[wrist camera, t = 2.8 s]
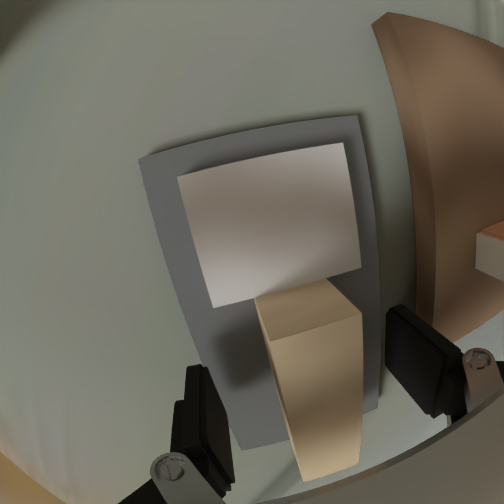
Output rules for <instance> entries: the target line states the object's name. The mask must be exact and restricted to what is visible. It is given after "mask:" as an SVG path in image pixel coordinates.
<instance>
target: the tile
mask: <svg viewBox="0 0 504 504" xmlns="http://www.w3.org/2000/svg"><path fill="white" fill-rule="evenodd" d="M475 269H478V270H480V271H482V272H484V273H486V274H488V275H490V276H492V277H495V278H497V279H499V280H501V281H503V282H504V221H502V222H499V223H497V224H494V225H492V226H489V227H487V228H484V229H482V232H479V233H477V240H476V264H475Z"/></svg>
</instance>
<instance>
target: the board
mask: <svg viewBox="0 0 504 504" xmlns="http://www.w3.org/2000/svg"><path fill="white" fill-rule="evenodd" d="M371 25H372V28H373V30H374V33H375V36H376V38H377V41H378V44H379V47H380V50H381V53H382V56H383V59H384V62H385V65H386V68H387V72H388V75H389V78H390V82H391V86H392V89H393V93H394V97H395V101H396V105H397V109H398V113H399V118H400V122H401V127H402V132H403V137H404V142H405V148H406V154H407V160H408V166H409V173H410V181H411V189H412V198H413V208H414V220H415V236H416V312H415V314H416V315H418V316H419V317H420V318H421V319H423V320H424V321H425V322H427V323H428V324H429V325H430V326H432V327H433V328H434V329H436V330H437V331H438V332H439V333H441V334H442V335H443V336H444V337H446V338H447V339H448V340H449V341H451V342H452V343H453V342H455V341H456V340H458V339H460V338H461V337H463V336H465V335H466V334H468V333H469V332H471V331H473V330H474V329H476V328H477V327H479V326H480V325H482V324H483V323H485V322H486V321H488V320H489V319H491V318H492V317H494V316H495V315H496V314H498V313H499V312H501V311H502V310H503V309H504V282H503V281H501V280H499V279H497V278H495V277H492V276H490V275H488V274H486V273H484V272H482V271H480V270H478V269H475V264H476V240H477V233H479V232H482V229H484V228H487V227H489V226H492V225H494V224H497V223H499V222H502V221H504V48H502V47H500V46H498V45H496V44H493V43H491V42H489V41H486V40H484V39H482V38H479V37H477V36H474V35H471V34H469V33H466V32H463V31H460V30H457V29H454V28H451V27H448V26H445V25H441V24H438V23H435V22H431V21H427V20H423V19H419V18H415V17H411V16H406V15H401V14H396V13H391V12H387V13H386V14H384V15H383V16H382V17H381V18H379V19H378V20H377V21H375V22H374V23H373V24H371Z"/></svg>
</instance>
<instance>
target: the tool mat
mask: <svg viewBox="0 0 504 504" xmlns="http://www.w3.org/2000/svg"><path fill="white" fill-rule="evenodd" d="M336 143H343V145H344V150H345V155H346V160H347V165H348V171H349V176H350V182H351V188H352V194H353V201H354V208H355V215H356V222H357V230H358V238H359V247H360V257H361V268H358V269H355V270H352V271H348V272H345V273H342V274H338V275H335V276H331V277H328V278H326V279H327V280H328V281H329V282H330V283H331V284H332V285H334V286H335V287H336V288H337V289H338V290H339V291H340V292H341V293H342V294H343V295H344V296H345V297H346V298H347V299H348V300H349V301H350V302H351V303H352V304H353V305H354V306H355V307H356V308H357V309H358V310H359V311H360V312H361V313H362V328H363V405H362V414H364V413H367V412H369V411H372V410H374V409H376V408H377V406H378V395H379V382H380V363H381V285H380V267H379V252H378V241H377V230H376V221H375V212H374V205H373V197H372V190H371V183H370V177H369V171H368V165H367V160H366V154H365V149H364V144H363V139H362V134H361V129H360V125H359V120H358V116H357V115H353V116H342V117H333V118H324V119H315V120H308V121H300V122H294V123H287V124H281V125H275V126H269V127H263V128H258V129H253V130H248V131H243V132H238V133H233V134H229V135H224V136H220V137H215V138H211V139H207V140H203V141H199V142H195V143H191V144H187V145H184V146H180V147H176V148H173V149H169V150H166V151H162V152H159V153H156V154H152V155H149V156H146V157H143V158H140V159H138V160H139V165H140V169H141V173H142V177H143V181H144V185H145V189H146V193H147V197H148V201H149V205H150V209H151V212H152V216H153V220H154V223H155V227H156V230H157V234H158V237H159V240H160V244H161V247H162V250H163V254H164V257H165V260H166V263H167V266H168V270H169V273H170V276H171V279H172V282H173V285H174V288H175V291H176V294H177V297H178V300H179V302H180V305H181V308H182V311H183V314H184V317H185V319H186V322H187V325H188V328H189V330H190V333H191V336H192V338H193V341H194V343H195V346H196V349H197V351H198V354H199V356H200V359H201V361H202V364H203V366H204V367H206V366H207V367H208V370H209V372H210V374H211V377H212V379H213V382H214V384H215V387H216V389H217V391H218V394H219V396H220V398H221V401H222V403H223V405H224V407H225V410H226V413H227V417H228V423H229V426H230V428H231V430H232V432H233V434H234V436H235V438H236V440H237V442H238V444H239V446H240V448H241V450H247V449H252V448H256V447H261V446H265V445H269V444H273V443H277V442H281V441H285V440H289V439H290V438H289V435H288V431H287V428H286V424H285V420H284V416H283V412H282V409H281V405H280V401H279V397H278V393H277V389H276V385H275V381H274V377H273V373H272V369H271V365H270V361H269V357H268V353H267V350H266V346H265V342H264V338H263V334H262V330H261V325H260V321H259V317H258V313H257V309H256V305H255V301H254V298H252V299H248V300H244V301H240V302H236V303H232V304H228V305H224V306H220V307H216V308H213V306H212V302H211V299H210V296H209V293H208V289H207V286H206V283H205V279H204V276H203V272H202V269H201V266H200V262H199V259H198V255H197V252H196V248H195V245H194V241H193V237H192V234H191V230H190V226H189V223H188V219H187V215H186V211H185V207H184V204H183V200H182V196H181V192H180V188H179V184H178V180H177V177H178V176H182V175H186V174H189V173H193V172H197V171H201V170H205V169H209V168H213V167H217V166H221V165H225V164H230V163H234V162H238V161H243V160H247V159H252V158H257V157H262V156H266V155H272V154H277V153H282V152H287V151H293V150H298V149H304V148H310V147H316V146H323V145H330V144H336Z"/></svg>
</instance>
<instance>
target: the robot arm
mask: <svg viewBox="0 0 504 504" xmlns="http://www.w3.org/2000/svg"><path fill="white" fill-rule="evenodd" d="M385 365H386V367H387V368H388V370H389V371H390V372H391V373H392V374H393V376H394V377H395V378H396V379H397V380H398V381H399V383H400V384H401V385H402V386H403V387H404V389H405V390H406V391H407V392H408V393H409V395H410V396H411V397H412V398H413V399H414V401H415V402H416V403H417V404H418V406H419V407H420V408H421V409H422V410H423V412H424V413H425V414H427V415H428V414H430V415H431V417H432V418H433V419H434V418H436V417H437V416H439V415H441V414H442V413H444V414H445V415H446V416H447V426H448V427H447V428H445V429H444V430H442V431H441V432H439V433H437V434H436V435H434V436H432V437H431V438H429V439H427V440H426V441H424V442H422V443H420V444H419V445H417V446H415V447H413V448H411V449H409V450H407V451H406V452H404V453H402V454H400V455H398V456H396V457H394V458H392V459H390V460H387V461H385V462H383V463H381V464H379V465H377V466H374V467H372V468H370V469H367V470H365V471H363V472H360V473H358V474H355V475H353V476H350V477H347V478H345V479H342V480H339V481H337V482H334V483H331V484H328V485H325V486H322V487H319V488H316V489H312V490H309V491H305V492H302V493H298V494H295V495H291V496H287V497H283V498H278V499H274V500H270V501H265V502H261V503H256V504H504V361H495V359H494V356H493V355H492V353H490V352H489V351H488V350H486V349H482V348H473V349H470V350H468V351H467V352H466V353H465V354H463V353H462V352H461V349H459V348H458V347H457V346H456V345H454V344H453V343H452V342H451V341H449V340H448V339H447V338H446V337H444V336H443V335H442V334H441V333H439V332H438V331H437V330H436V329H434V328H433V327H432V326H430V325H429V324H428V323H427V322H425V321H424V320H423V319H421V318H420V317H419V316H418V315H416V314H415V313H414V312H412V311H411V310H410V309H408V308H407V307H406V306H404V305H403V304H399V305H396V306H394V307H391V308H390V309H389V311H388V313H386V339H385ZM150 475H151V479H150V480H149V481H148V482H146V483H145V484H144V485H142V486H141V487H140V488H138V489H137V490H136V491H135V492H133V493H132V494H131V495H129V496H128V497H126V498H125V499H124V500H122V501H121V502H120V503H118V504H226V503H225V502H224V501H223V500H222V498H223V497H224V496H225V495H226V491H231V483H235V476H234V469H233V460H232V452H231V443H230V434H229V425H228V417H227V413H226V410H225V407H224V405H223V403H222V401H221V398H220V396H219V394H218V391H217V389H216V387H215V384H214V382H213V379H212V377H211V374H210V372H209V370H208V367H207V366H206V367H202V365H201V364H198V365H193V366H188V367H187V369H186V381H185V393H184V400H179V401H176V402H175V405H174V414H173V424H172V435H171V447H170V453H166V454H163V455H161V456H159V457H158V458H156V459H155V460H154V462H153V463H152V465H151V467H150Z"/></svg>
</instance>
